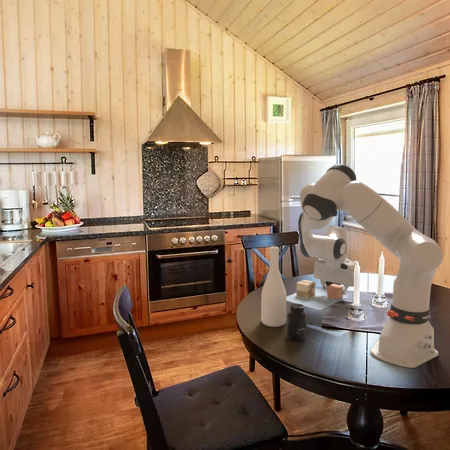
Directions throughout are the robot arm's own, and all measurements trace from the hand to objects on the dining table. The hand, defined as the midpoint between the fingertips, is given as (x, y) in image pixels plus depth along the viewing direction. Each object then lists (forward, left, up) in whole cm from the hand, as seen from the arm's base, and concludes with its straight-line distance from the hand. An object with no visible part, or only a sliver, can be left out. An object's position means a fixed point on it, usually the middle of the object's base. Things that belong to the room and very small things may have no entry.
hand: (334, 291), depth 180 cm
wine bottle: (-40, +4, -4) cm, 40 cm away
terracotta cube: (0, 0, -2) cm, 2 cm away
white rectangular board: (-7, +6, -4) cm, 9 cm away
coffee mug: (+13, +10, -4) cm, 17 cm away
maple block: (-6, +11, -2) cm, 13 cm away
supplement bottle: (-45, -10, -4) cm, 46 cm away
